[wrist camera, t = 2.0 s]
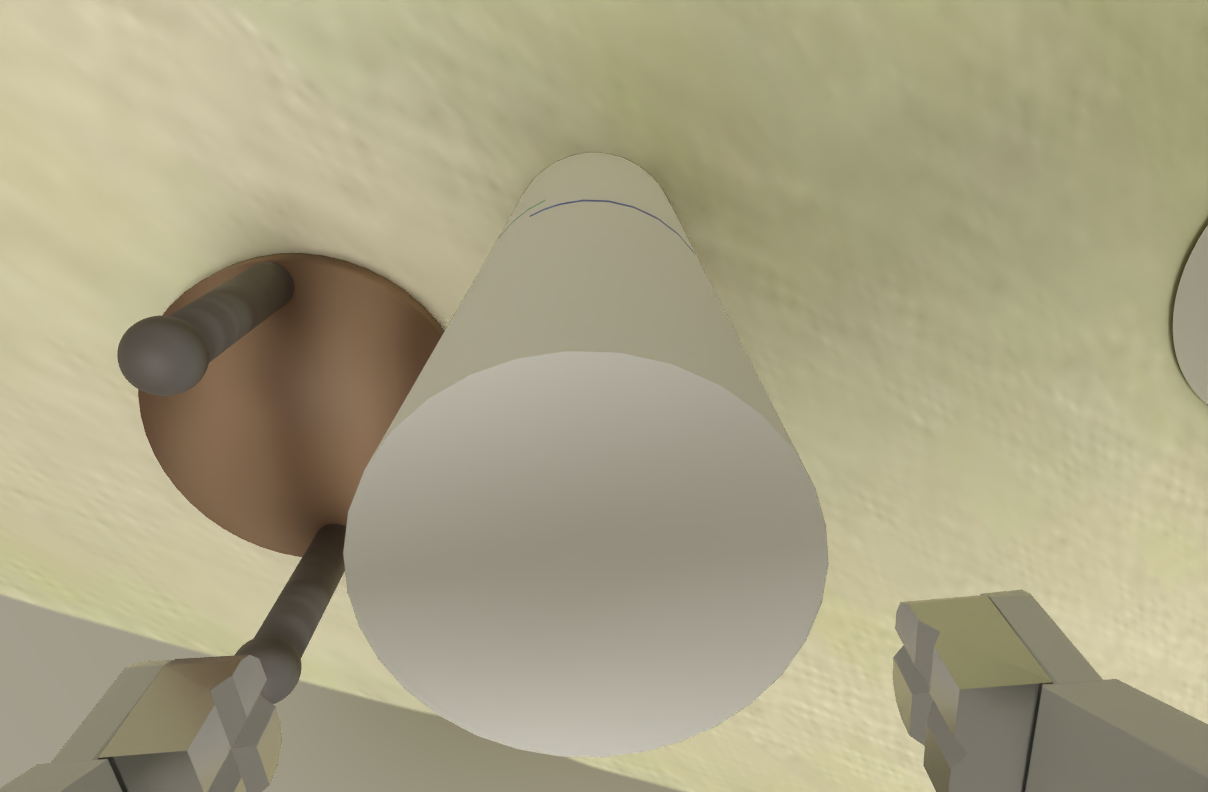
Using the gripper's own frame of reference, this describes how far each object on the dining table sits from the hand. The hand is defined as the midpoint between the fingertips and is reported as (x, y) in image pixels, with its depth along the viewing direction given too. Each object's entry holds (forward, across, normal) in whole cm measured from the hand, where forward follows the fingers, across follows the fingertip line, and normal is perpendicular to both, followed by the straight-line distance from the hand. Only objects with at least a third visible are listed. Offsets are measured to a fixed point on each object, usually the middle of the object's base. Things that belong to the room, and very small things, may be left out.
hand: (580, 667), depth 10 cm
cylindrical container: (+27, 0, 0) cm, 27 cm away
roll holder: (+27, +14, +7) cm, 31 cm away
